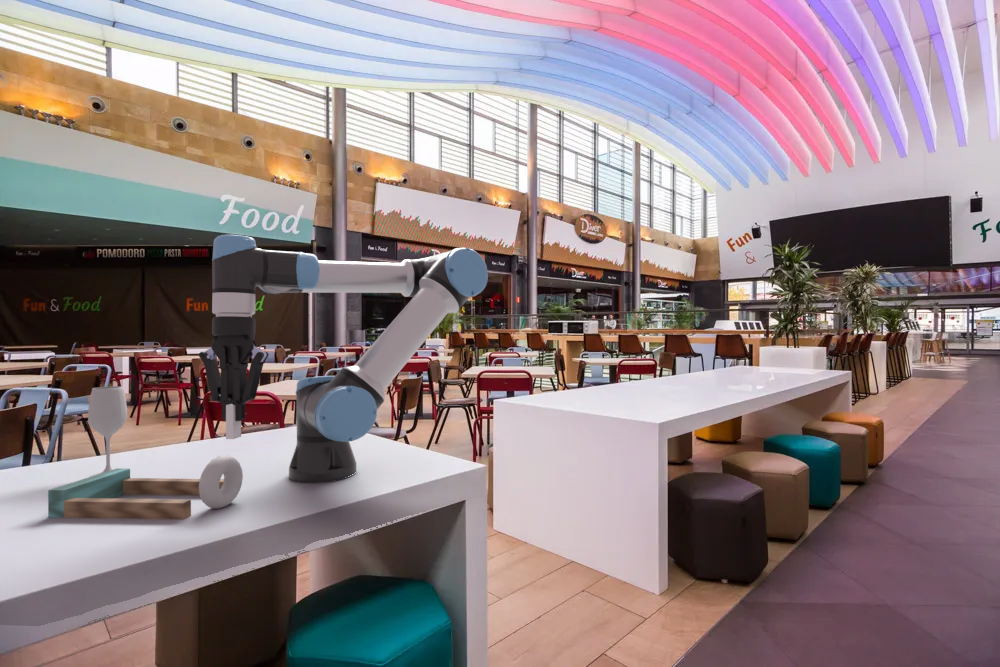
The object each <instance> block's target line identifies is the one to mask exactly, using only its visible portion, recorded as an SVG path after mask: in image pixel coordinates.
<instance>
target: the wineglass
mask: <svg viewBox="0 0 1000 667" xmlns="http://www.w3.org/2000/svg"><path fill="white" fill-rule="evenodd" d="M88 402H89V403H88V411H87V420H88V423H89V426H90V427H91V428H92V430H94V432H97V434H100V436H103V437H104V438H105V450H106V451H105V452H106V453H105V454H106V455H105V458H106V459H105V460H106V463H105V468H104V470H103V471H101V472H97V473H93V474H91V475H89V477H91V476H95V475H98V474H101V473H104V472H107V471H110V470H113V468H112V467H111V454H110V453H111V439H112V436H113V435H115V434H116V433H117V432H118V431H119V430H120V429H121V428H122V427H123V426H124V425H125V423H126V422H127V419H128V406H127V399H126V394H125V389H124V386H98V387H92V388H91V392H90V398H89V401H88Z"/></svg>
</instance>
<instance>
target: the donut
mask: <svg viewBox="0 0 1000 667" xmlns="http://www.w3.org/2000/svg"><path fill="white" fill-rule="evenodd" d="M243 474H244V473H243V469H242V466H241V463H240V462H239V461H238V459H237V458H235V457H233V456H231V455H228V454H227V455H219V456H217V457H216V458H213V459H211V461H209V462H208V463H207V464H206V466H205V467H204V469H203V471H202V473H201V475H200V477H199V479H200V481H199V494H200V495H199V497H200V500H201V502H203V504H204V505H205V506H207V507H208V508H210V509H211V508H212V509H215V510H218V509H222V508H223V509H224V508H225V507H227V506H229V505H230V504H231V503H232V502H233V501H234V500H235V499H236V498H237V497H238V494H239V493H240V491H241V488H242V485H243V480H244V477H243V476H244V475H243ZM222 476H223V479H224V482H223V485H222V487H221V489H219V482H220V479H222Z"/></svg>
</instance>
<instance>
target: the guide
mask: <svg viewBox="0 0 1000 667" xmlns="http://www.w3.org/2000/svg"><path fill="white" fill-rule="evenodd" d="M100 473H101V472H100ZM90 476H91V475H90ZM199 481H200V478H163V477H161V478H157V477H155V478H150V477H148V478H145V477H143V478H142V477H141V478H140V477H131V468H114V469H112V470H110V471H107V472H104V473H101V474H98V475H95V476H91V477H85V478H82V479H79V480H76V481H73V482H70V483H67V484H62V485H59V486H57V487H53V488H50V489H48V490H47V499H48V500H47V501H48V502H47V503H48V508H47V510H48V511H47V512H48V513H47V514H48V518H55V519H56V518H57V519H58V518H62V519H63V518H64V519H72V518H73V519H121V520H122V519H129V520H130V519H135V520H136V519H137V520H141V519H142V520H185V519H187V518H189V517H191V516H192V500H191V499H161V498H159V499H158V498H118V497H120V496H122V495H128V496H129V495H137V496H138V495H139V496H140V495H141V496H143V495H144V496H145V495H146V496H147V495H148V496H152V495H155V496H157V495H158V496H200V494H199ZM223 482H224V478H220V482H219V489H221V487H222V485H223Z"/></svg>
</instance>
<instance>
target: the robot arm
mask: <svg viewBox="0 0 1000 667" xmlns="http://www.w3.org/2000/svg"><path fill="white" fill-rule="evenodd" d="M212 246H213V248H212V259H211V261H212V263H211V264H212V266H211V267H212V268H211V270H212V273H211V274H212V295H211V296H212V298H211V299H212V302H211V304H212V305H211V306H212V307H211V313H212V314H213V315H215V316H214V317H213V318H212V319H211V321H212V322H211V324H212V325H211V330H212V331H211V334H212V337H213V340H212V342H211V344H210V348H208V349H207V350H205V351H200V352H199V353H198V356H199V359H200V361H202V363H203V366H204V371H205V374H206V379H207V382H208V387H209V392H210V397H211V400H212V401H213V402H218V403H220V404H221V408H222V409H221V419H222V421H223V422H225V440H235V439H237V438H241V437H242V421H244V420H245V419H246V404H247V403H249V402H250V401H253V400H255V399H256V397H257V391H258V388H259V383H260V380H261V375H262V372H263V367H264V363H265V362H266V360H267V359H268V357H269V352H268V351H263V350H261V349H260V348H258V345H257V342H256V341H255V339H256V338H255V336H256V319H255V317H253V316H254V315H255V314H256V288H257V287H258V288H259V289H260V290H261V291H263V292H265V293H267V294H270V295H271V294H272V295H280V294H282V293H283V294H288V293H289V294H292V293H293V294H299V293H309V294H310V293H318V294H319V293H326V294H327V293H330V294H331V293H332V294H333V293H335V294H337V293H338V294H340V293H343V294H345V293H348V294H352V293H354V294H356V293H357V294H358V293H359V294H360V293H363V294H364V293H365V294H369V293H370V294H371V293H372V294H377V293H378V294H380V293H381V294H382V293H383V294H388V293H389V294H390V293H391V294H393V293H394V294H395V293H396V294H401V295H402V296H403V297H405V298H407V297H408V298H411V299H410V301H409V302H408V303H407V304H406V305H405V307H403V309H402V310H401V311H400V312H399V313H398V314H397V316H396V317H395V318H394V319H393V320H392V321H391V323H390V324H389V325H388V326H387V327H386V328H385V329H384V331H383V332H382V333H381V334H380V335H379V336H378V337H377V338H376V340H375V341H374V342H373V343H372V344H371V346H370V347H369V348H368V349H367V350H366V351H365V352H364V354H362V356H361V357H360V358H359V360H357V362H355V363H354V365H352V366H351V365H350V366H344V367H342V368H341V369H340V370H339V371H338V373H337V374H335V375H323V376H322V375H321V376H313V377H312V376H310V377H304V378H300V379H298V381H297V383H296V390H295V396H296V446H295V448H294V452H293V454H292V458H291V461H290V464H289V467H288V479H289V480H291V481H293V482H296V483H303V484H306V483H308V484H309V483H310V484H313V483H314V484H315V483H316V484H318V483H319V484H320V483H328V482H329V483H330V482H335V481H334V480H336V481H340V480H339V479H341V480H343V479H342V478H345V477H348V476H350V475H352V474H354V473H355V472H356V473H357V461H356V458H355V455H354V451H353V449H352V446H351V443H350V442H353V441H356V440H359V439H361V438H363V437H364V436H365V435H366V434H368V433H369V432H370V431H371V429H372V428H373V426H374V424H376V419H377V416H378V415H377V412H378V409H379V408H380V407H381V406H382V404H384V402H385V400H386V398H385V397H386V396H385V390H386V389H387V388H388V386H389V385H390V384H391V383H392V381H393V380H394V379H395V378H396V377H397V375H398V374H399V373H401V372H400V371H401V370H402V369H403V368H404V367H405V365H407V363H408V362H409V361H410V360H411V359H412V357H413V356H414V355H415V354H416V353H417V351H418V350H419V349H420V348H421V346H422V345H423V344H424V343H425V342H426V340H427V339H428V338H429V336H431V334H432V333H433V331H435V330H436V328H437V327H438V326H439V324H440V323H441V322H442V321H443V319H444V318H445V317H446V316H447V315H448V314H454V313H458V311H459V310H460V309H461V308H462V306H464V305H465V303H466V302H467V300H468V299H469V298H472V297H473V298H474V297H476V296H477V295H479V294H481V293H482V292H483V291H484V290H485V288H486V287H487V284H488V280H489V279H488V278H489V273H488V267H487V264H486V262H485V259H483V257H482V255H481V254H480V253H478V252H477V251H476V250H474V249H472V248H470V247H456V248H453V249H451V250H449V251H445V252H442V253H441V252H440V253H438V254H434V255H431V256H428V257H423V258H418V259H417V258H416V259H410V258H409V259H403V260H402V261H401V262H377V261H376V262H375V261H374V262H372V261H371V262H370V261H342V260H319V259H318V256H317V255H315V254H313V253H309V252H308V253H307V252H306V253H305V252H303V251H286V250H272V249H262V248H258V246H257V243H256V240H255V238H253V237H252V236H251V237H250V236H245V235H242V234H241V235H240V234H221V235H218V236H216V237H215V238H214V240H213V245H212ZM250 358H251V359H252V360H251V362H250V366H249V359H250ZM217 359H218V361H219V363H218V361H217ZM248 367H249V370H248ZM247 371H248V374H247ZM354 475H355V474H354ZM348 478H349V477H348ZM345 479H346V478H345Z"/></svg>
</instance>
